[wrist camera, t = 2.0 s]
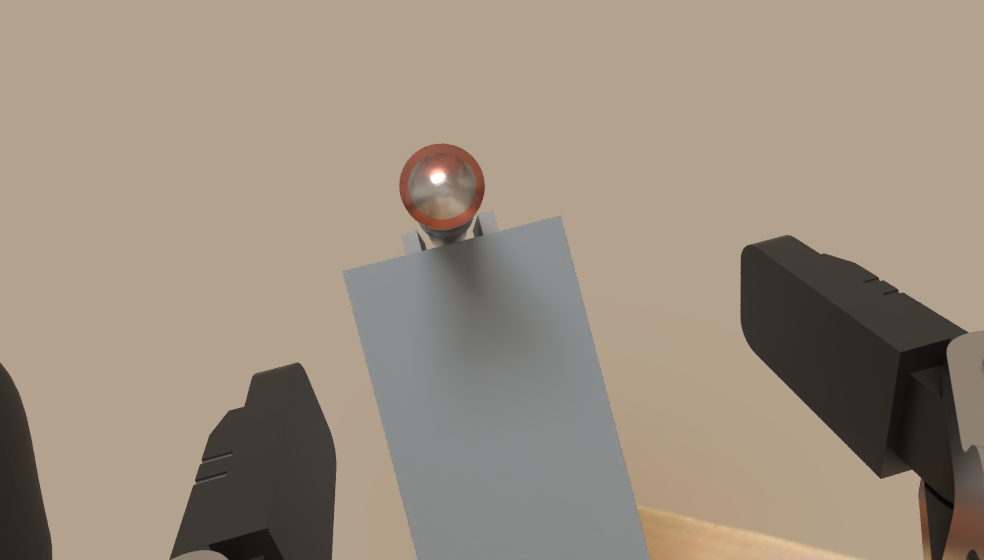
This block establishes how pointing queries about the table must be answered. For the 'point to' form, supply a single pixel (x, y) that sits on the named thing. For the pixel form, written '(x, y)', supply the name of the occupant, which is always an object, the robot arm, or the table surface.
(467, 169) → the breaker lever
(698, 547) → the table surface
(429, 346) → the tall grey box
